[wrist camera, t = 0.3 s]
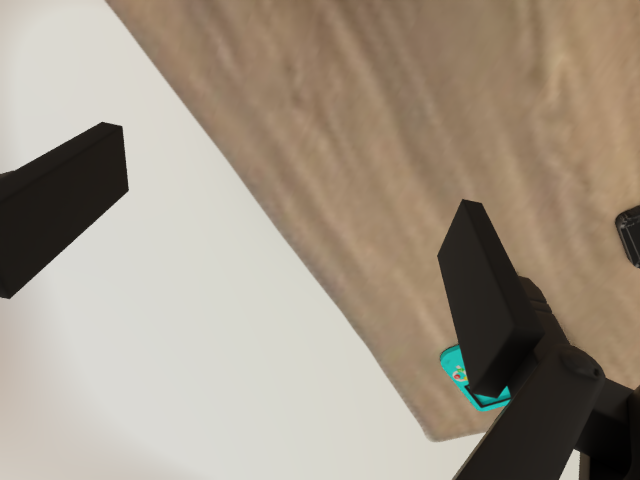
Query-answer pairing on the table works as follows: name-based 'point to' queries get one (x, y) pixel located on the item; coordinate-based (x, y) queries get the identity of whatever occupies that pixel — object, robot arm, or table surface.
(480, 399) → the handheld gaming console
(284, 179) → the table surface
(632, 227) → the phone
